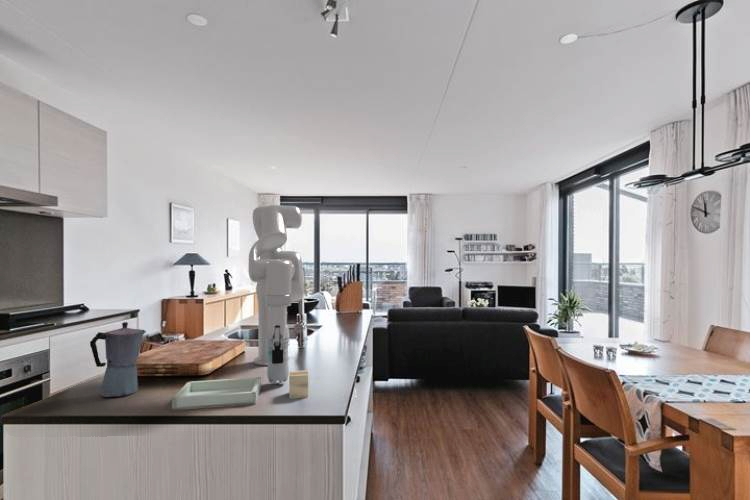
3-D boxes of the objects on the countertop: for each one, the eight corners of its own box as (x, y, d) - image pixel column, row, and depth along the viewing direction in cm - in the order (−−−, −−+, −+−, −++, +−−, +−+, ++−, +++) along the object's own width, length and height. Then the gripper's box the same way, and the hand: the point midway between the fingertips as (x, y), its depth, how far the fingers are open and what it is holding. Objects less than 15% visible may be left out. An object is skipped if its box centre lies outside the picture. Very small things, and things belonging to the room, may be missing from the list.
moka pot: (155, 387, 114) (156, 319, 115) (103, 405, 100) (105, 327, 100) (131, 384, 117) (132, 318, 118) (78, 401, 103) (80, 326, 103)
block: (289, 392, 108) (289, 371, 109) (307, 391, 109) (307, 370, 110) (289, 398, 103) (289, 376, 104) (308, 397, 104) (308, 375, 105)
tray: (187, 392, 109) (188, 381, 109) (260, 387, 113) (260, 377, 113) (172, 410, 95) (172, 398, 96) (255, 404, 99) (255, 392, 99)
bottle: (283, 385, 112) (283, 317, 112) (262, 384, 113) (262, 316, 114) (292, 378, 119) (293, 314, 119) (272, 377, 120) (273, 313, 120)
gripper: (267, 297, 124) (267, 353, 124) (263, 304, 107) (262, 369, 107) (291, 297, 126) (291, 352, 125) (290, 304, 109) (290, 367, 108)
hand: (278, 359), depth 116 cm, fingers closed on bottle, 5 cm apart
